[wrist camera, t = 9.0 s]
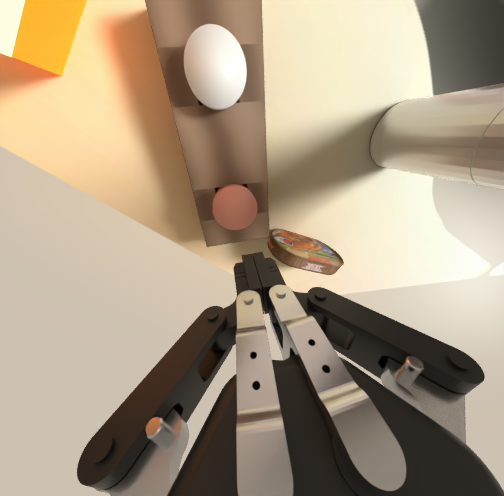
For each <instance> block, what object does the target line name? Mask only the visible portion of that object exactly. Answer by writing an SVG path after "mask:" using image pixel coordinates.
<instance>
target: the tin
mask: <svg viewBox="0 0 504 496" xmlns="http://www.w3.org/2000/svg"><path fill="white" fill-rule="evenodd" d="M267 244H268V248H269V250H270V251H271V253H272V255H273V256H274V257H275V258H277V259H278V260H279V261H281V262H282V263H284V264H286V265H288V266H291V267H294V268H299V269H303V270H308V271H312V272H317V273H321V274H326V275H332V274H334V273H335V272H336V271H337V270H338V269H339V268H340V267H341V266H342V265H343V264H344V262H343V259H342V258H341V256H340V255H339V254H338V253H337V252H336V251H334V250H333V249H332V248H330V247H329V246H327V245H326V244H324V243H322V242H320V241H318V240H316V239H312V238H309V237H306V236H302V235H299V234H296V233H293V232H289V231H286V230H282V229H276V230H273V231H272V234H271V236H270V238H269V240H268V243H267Z"/></svg>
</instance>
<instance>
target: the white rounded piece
mask: <svg viewBox="0 0 504 496" xmlns="http://www.w3.org/2000/svg"><path fill="white" fill-rule="evenodd" d="M184 70H185V75H186V78H187V81H188V83H189V86H190V88H191V90H192V92H193V93H194V95H195V96H196V98H197V99H198V100H199V101H200V102H201V103H202V104H203V105H205V106H206V107H208V108H210V109H213V110H225V109H228V108H230V107H231V106H233V105H234V104H235V103H236V102H237V100H238V99H239V98H240V96H241V94H242V92H243V90H244V87H245V84H246V76H247V68H246V61H245V57H244V54H243V51H242V48H241V46H240V44H239V43H238V41H237V40H236V38H235V37H234V36H233V35H232V34H231V33H230V32H229V31H228V30H227V29H225V28H224V27H221V26H219V25H215V24H206V25H203V26H200V27H199V28H197V29H196V30H195V31H194V32H193V33H192V34H191V36H190V37H189V39H188V41H187V44H186V47H185V51H184Z"/></svg>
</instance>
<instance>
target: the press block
mask: <svg viewBox="0 0 504 496" xmlns="http://www.w3.org/2000/svg"><path fill="white" fill-rule="evenodd" d="M145 3H146V7H147V11H148V15H149V18H150V22H151V26H152V30H153V34H154V38H155V42H156V46H157V50H158V54H159V58H160V62H161V66H162V70H163V74H164V78H165V82H166V86H167V90H168V94H169V98H170V102H171V106H172V110H173V114H174V118H175V122H176V126H177V130H178V134H179V138H180V142H181V146H182V150H183V154H184V158H185V162H186V166H187V170H188V174H189V178H190V182H191V186H192V190H193V194H194V198H195V202H196V206H197V210H198V214H199V218H200V222H201V226H202V229H203V233H204V237H205V241H206V245H207V247H209V246H216V245H222V244H228V243H234V242H240V241H247V240H253V239H259V238H265V237H269V215H268V184H267V153H266V122H265V91H264V60H263V28H262V0H145ZM206 24H215V25H219V26H221V27H224V28H225V29H227V30H228V31H229V32H230V33H231V34H232V35H233V36H234V37H235V38H236V40H237V41H238V43H239V44H240V46H241V48H242V51H243V54H244V57H245V61H246V68H247V76H246V84H245V87H244V90H243V92H242V94H241V96H240V98H239V99H238V100H237V102H236V103H235V104H234V105H233V106H231V107H230V108H228V109H225V110H213V109H210V108H208V107H206V106H205V105H201V106H200V101H199V100H198V99H197V98H196V96H195V95H194V93H193V92H192V90H191V88H190V86H189V83H188V81H187V78H186V75H185V70H184V51H185V47H186V44H187V41H188V39H189V37H190V36H191V34H192V33H193V32H194V31H195V30H196V29H197V28H199V27H200V26H203V25H206ZM229 184H239V185H241V184H243V185H244V187H246V188H247V189H249V190H250V192H251V193H252V194H253V196H254V197H255V199H256V202H257V207H258V210H257V215H256V217H255V219H254V221H253V222H252V223H251V224H250V225H249V226H247V227H246V228H244V229H240V230H229V229H226V228H224V227H222V226H221V225H220V224H219V223H218V222H217V221H216V219H215V218H214V215H213V199H214V196H215V195H216V188H217V187H224V186H226V185H229Z"/></svg>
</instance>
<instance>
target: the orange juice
mask: <svg viewBox="0 0 504 496" xmlns="http://www.w3.org/2000/svg"><path fill="white" fill-rule="evenodd" d="M85 3H86V0H0V53H1V54H4V55H7V56H9V57H14V58H17V59H19V60H22V61H24V62H27V63H29V64H32V65H35V66H37V67H40V68H42V69H45V70H48V71H50V72H53V73H55V74H58V75H60V76H62V73H63V70H64V67H65V64H66V61H67V58H68V55H69V52H70V48H71V45H72V42H73V39H74V36H75V33H76V30H77V27H78V24H79V21H80V18H81V15H82V12H83V9H84V6H85Z"/></svg>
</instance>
